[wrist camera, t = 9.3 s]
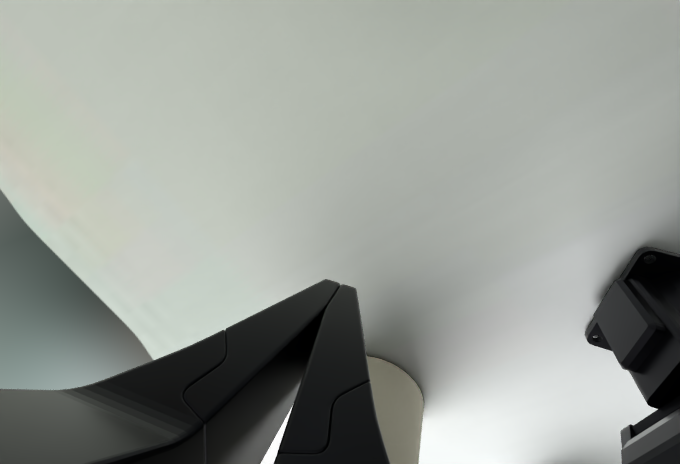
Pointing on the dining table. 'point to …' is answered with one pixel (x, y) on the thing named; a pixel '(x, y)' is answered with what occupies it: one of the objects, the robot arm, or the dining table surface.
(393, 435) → the travel mug
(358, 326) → the robot arm
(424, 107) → the dining table surface
